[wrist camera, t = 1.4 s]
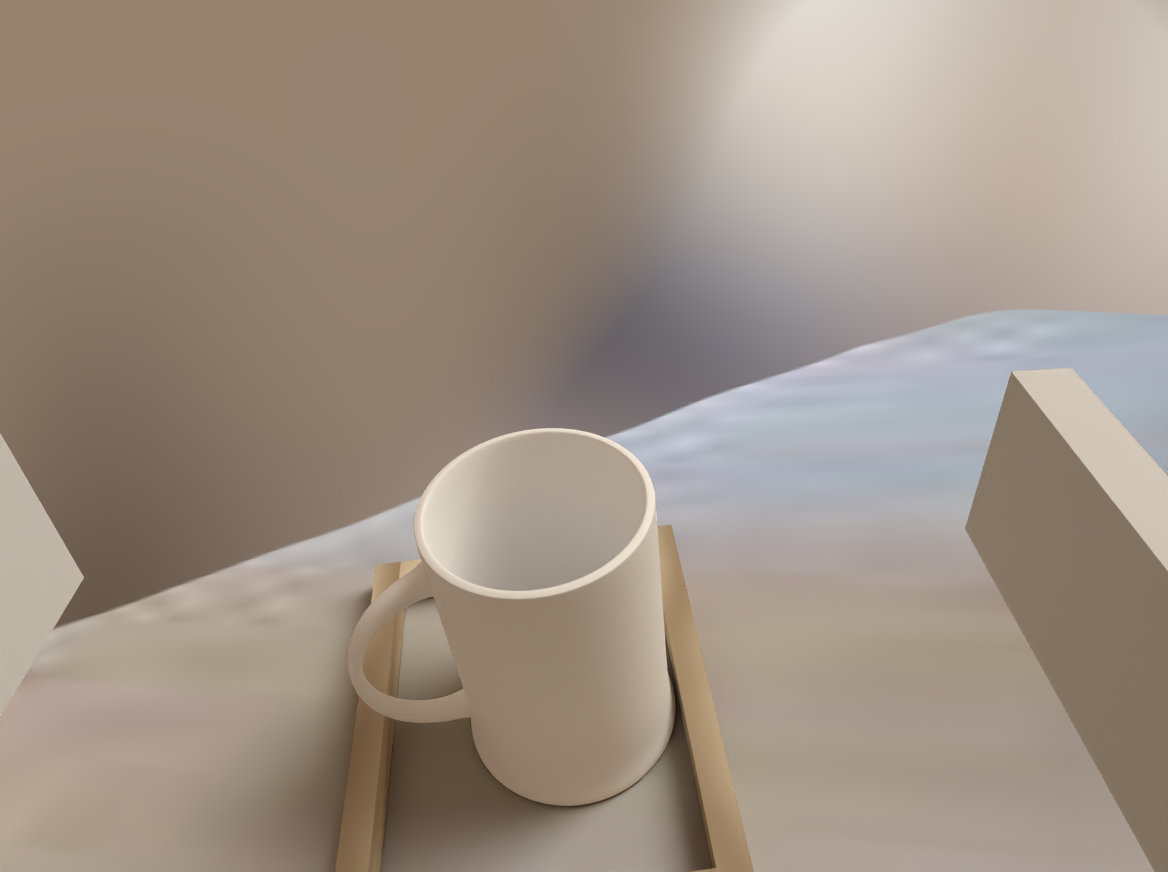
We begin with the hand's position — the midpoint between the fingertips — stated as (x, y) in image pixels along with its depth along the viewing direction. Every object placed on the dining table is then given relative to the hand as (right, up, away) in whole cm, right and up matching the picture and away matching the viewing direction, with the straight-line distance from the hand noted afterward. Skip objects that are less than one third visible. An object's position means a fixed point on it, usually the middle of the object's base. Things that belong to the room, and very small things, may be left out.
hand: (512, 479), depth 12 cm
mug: (-1, -11, +24) cm, 27 cm away
